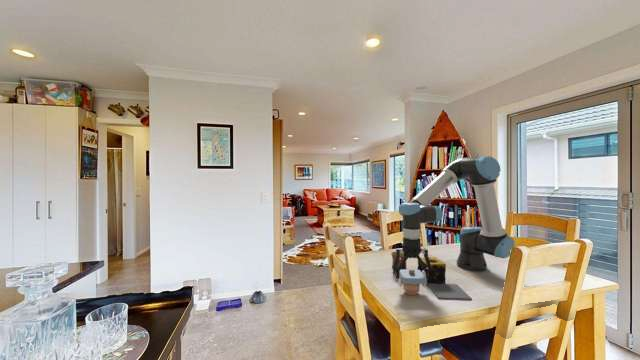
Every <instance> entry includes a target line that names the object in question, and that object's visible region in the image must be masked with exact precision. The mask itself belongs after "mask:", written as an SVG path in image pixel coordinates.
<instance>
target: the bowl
mask: <svg viewBox="0 0 640 360" xmlns="http://www.w3.org/2000/svg"><path fill="white" fill-rule="evenodd" d="M402 285H403V286H402V289H403V291H404V292H405V294H407V295H409V296H416V295H418V293H419V292H420V288H421V287H420V285H421V284H403V283H402Z"/></svg>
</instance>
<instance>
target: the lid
mask: <svg viewBox="0 0 640 360" xmlns="http://www.w3.org/2000/svg"><path fill="white" fill-rule="evenodd" d="M400 271H401V283H402V285H403V284H420V285H422V284H426V285H427V278H426V277H425V276H424V275H423V273H422V272H421V271H420V270H417V269H412V268H411V269H406V270H404V269H401V270H400Z"/></svg>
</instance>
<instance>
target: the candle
mask: <svg viewBox="0 0 640 360" xmlns="http://www.w3.org/2000/svg"><path fill="white" fill-rule="evenodd" d="M420 258H421V260H422V261H423V263H424V265H425V266H426V268H428V267H427V264H426V261H425V258H424V257H420ZM429 260H430V264H431V267H432V271H429V273H428V279H427V283H432V284H447V283H446V271H447V269H446V268H447V264H446V262H443V261H442V260H440V259H438V258H437V257H429ZM416 270H420V271H421V272H422V271H424V269H423V268H422V266H421V264H420V263H419V261H418V260H417V269H416Z"/></svg>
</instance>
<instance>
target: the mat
mask: <svg viewBox="0 0 640 360" xmlns="http://www.w3.org/2000/svg"><path fill="white" fill-rule="evenodd" d="M426 286H427V287H428V288H429V289H430V291H431V292H432V293H433V294H434V295H435V296H436V298H437V299H439V300H460V301H461V300H466V301H472V299H473V298H472V297H471V296H470V295H469V294H468V293H467V292H466V291H465V290H463V289H462V287H460V286H459V284H457V283H441V284H432V283H427V284H426Z"/></svg>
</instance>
